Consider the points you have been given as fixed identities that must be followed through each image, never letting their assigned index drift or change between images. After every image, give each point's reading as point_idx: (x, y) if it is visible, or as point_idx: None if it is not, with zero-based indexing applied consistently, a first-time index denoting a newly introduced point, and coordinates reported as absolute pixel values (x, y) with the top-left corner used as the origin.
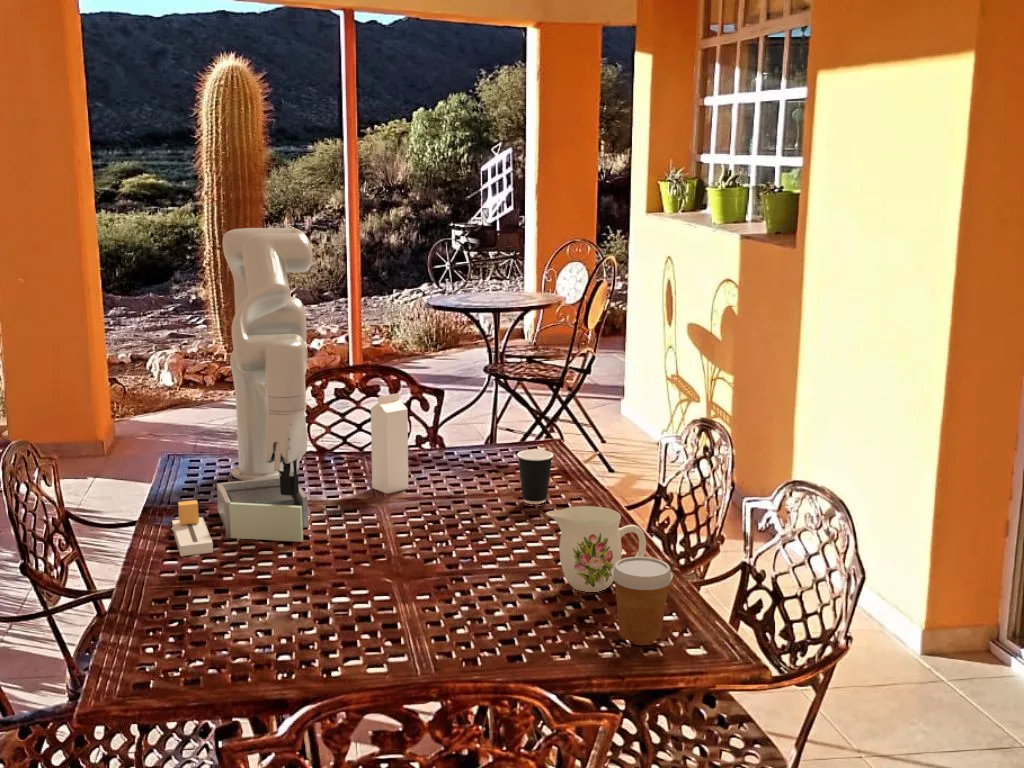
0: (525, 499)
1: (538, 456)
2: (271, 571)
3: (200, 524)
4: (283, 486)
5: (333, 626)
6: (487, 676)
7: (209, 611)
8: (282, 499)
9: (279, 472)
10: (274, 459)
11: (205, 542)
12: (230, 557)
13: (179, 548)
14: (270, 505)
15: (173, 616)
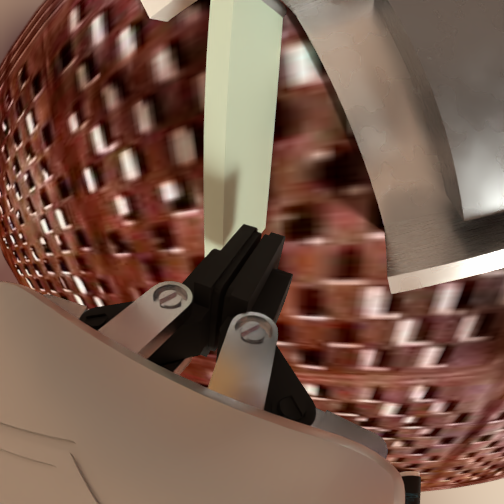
0: (402, 476)
1: None
2: (106, 186)
3: None
4: (203, 263)
5: (46, 274)
6: None
7: (20, 148)
8: (471, 175)
9: (146, 298)
10: (104, 336)
11: (148, 2)
12: (144, 75)
13: None
14: (211, 168)
15: (9, 116)
